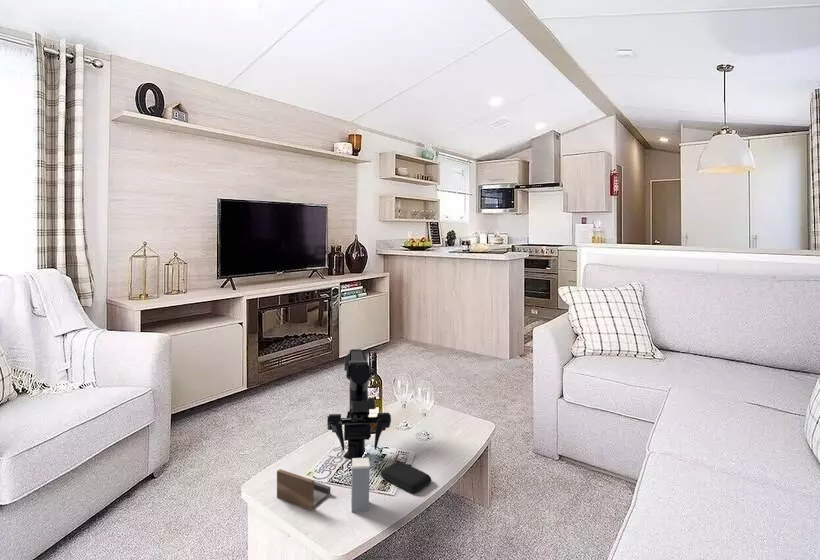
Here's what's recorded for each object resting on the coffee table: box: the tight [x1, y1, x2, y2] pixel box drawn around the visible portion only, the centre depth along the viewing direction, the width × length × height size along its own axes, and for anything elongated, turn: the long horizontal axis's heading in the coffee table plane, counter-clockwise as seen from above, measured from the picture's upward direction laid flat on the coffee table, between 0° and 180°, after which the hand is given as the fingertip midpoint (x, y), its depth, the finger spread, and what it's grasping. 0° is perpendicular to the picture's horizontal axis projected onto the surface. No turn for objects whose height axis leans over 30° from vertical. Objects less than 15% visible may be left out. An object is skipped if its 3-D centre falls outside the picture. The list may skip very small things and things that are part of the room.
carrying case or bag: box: [380, 461, 432, 494], centre depth 140 cm, size 11×3×15 cm
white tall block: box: [350, 456, 371, 513], centre depth 125 cm, size 5×5×13 cm
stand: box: [276, 468, 331, 511], centre depth 130 cm, size 9×12×8 cm
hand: (359, 450), depth 131 cm, fingers open, 9 cm apart
